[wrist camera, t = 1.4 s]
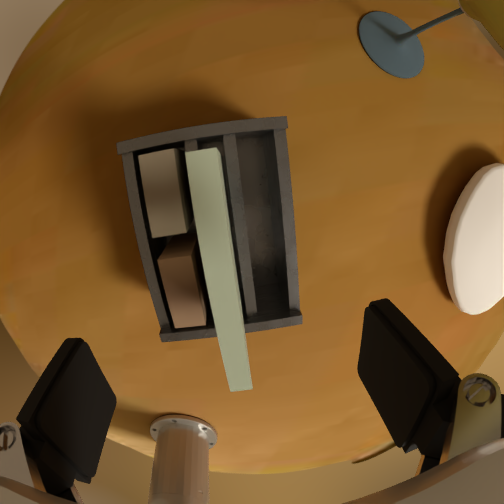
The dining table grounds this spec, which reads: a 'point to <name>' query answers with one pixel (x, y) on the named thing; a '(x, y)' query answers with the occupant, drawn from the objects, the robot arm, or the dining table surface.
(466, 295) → the plate
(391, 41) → the cocktail glass
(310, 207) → the dining table surface
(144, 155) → the brown offcut
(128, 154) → the rack
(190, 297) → the walnut offcut
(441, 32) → the dining table surface
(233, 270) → the sage sheet
